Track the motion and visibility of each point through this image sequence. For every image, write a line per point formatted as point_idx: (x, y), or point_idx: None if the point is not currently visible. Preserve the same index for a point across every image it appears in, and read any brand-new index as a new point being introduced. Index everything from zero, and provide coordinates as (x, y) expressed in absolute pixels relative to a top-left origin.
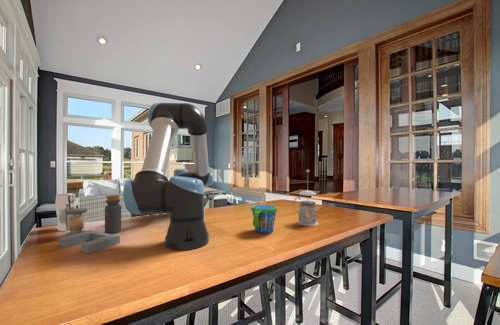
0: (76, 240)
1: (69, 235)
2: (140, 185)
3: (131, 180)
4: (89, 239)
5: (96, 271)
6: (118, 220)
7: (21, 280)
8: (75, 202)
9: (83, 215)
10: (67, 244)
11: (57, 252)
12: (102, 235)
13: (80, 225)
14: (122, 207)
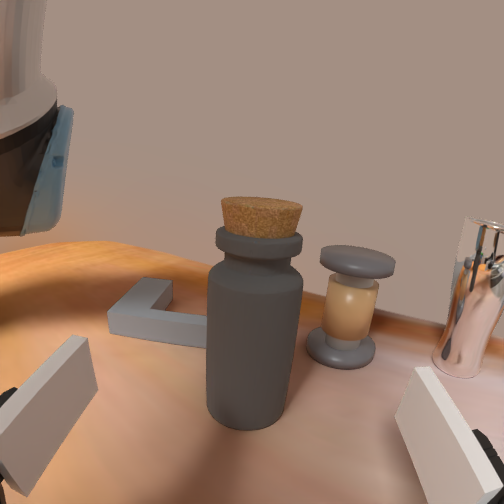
0: None
1: None
2: (23, 128)
3: (59, 107)
4: None
5: (79, 269)
6: (206, 348)
7: (165, 257)
8: (482, 267)
9: (347, 288)
10: None
11: None
12: (174, 313)
13: (324, 313)
14: (399, 412)
